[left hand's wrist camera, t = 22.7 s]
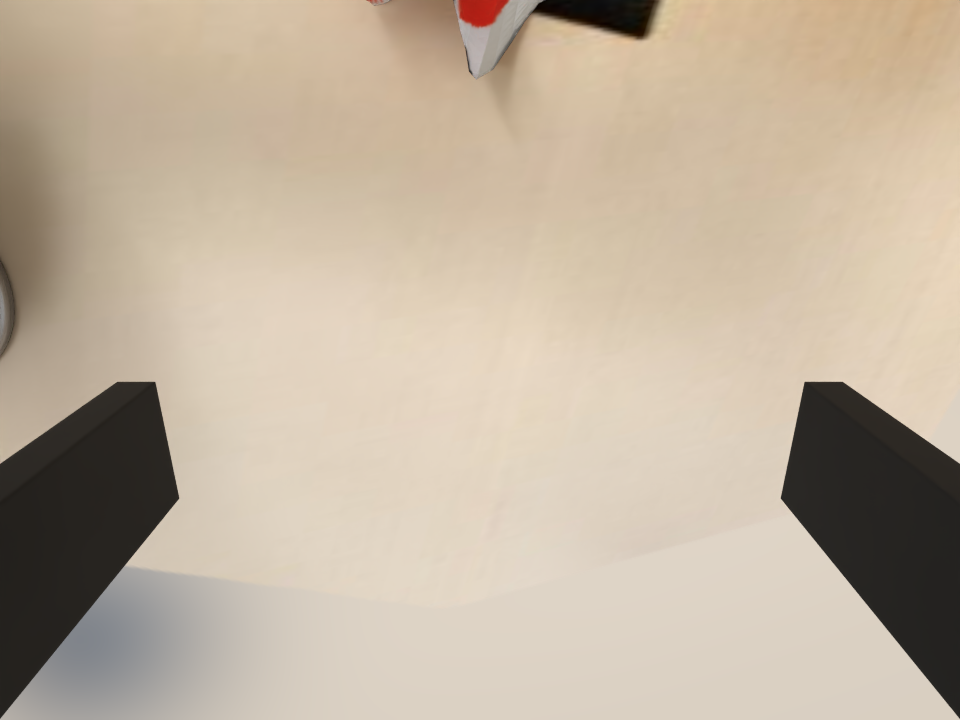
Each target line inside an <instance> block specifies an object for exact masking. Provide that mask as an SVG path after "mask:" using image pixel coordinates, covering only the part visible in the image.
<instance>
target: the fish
mask: <svg viewBox="0 0 960 720" xmlns="http://www.w3.org/2000/svg"><path fill="white" fill-rule="evenodd" d="M367 1H369V2H370V3H372V4H373V5H381V4H385V3H386V2H388V1H390V0H367ZM453 1H454V5H455V9H456V13H457V17H458V22H459V26H460V31H461V35H462V38H463V42H464V45H465V48H466V54H467V61H468V68H469V72H470V73H471V74H472V75H473V76H474V78H475V79H478V78H479V77H481V76H483V75H484V74H486V73H488V72H490V71H491V70H493V69H494V67H495V66H496V64H497V63H498V61H499V60H500V58H501V57H502V56H503V54H504V53H505V51H506V50H507V48H508V47H509V45H510V44H511V42H512V41H513V39H514V38H515V36H516V34H517V33H518V31H519V30H520V28H521V27H522V25H523V23H524V22H525V21H526V19H527V18H528V17H529V15H530V14H531V13H532V11H533V10H534V9H535V8H536V6H537V5H538V4H539V3H540V2H542V1H544V0H453Z"/></svg>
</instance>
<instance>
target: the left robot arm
mask: <svg viewBox="0 0 960 720" xmlns="http://www.w3.org/2000/svg"><path fill="white" fill-rule="evenodd" d="M13 323H14V301H13V295H12V291H11V287H10V283H9V280H8V277H7V275H6V272H5V270H4V268H3V266H2V263H1V262H0V355H1V354H2V352H3V351H4V349H5V348H6V346H7V344H8V341H9V339H10V336H11V333H12V329H13ZM178 499H179V495H178V490H177V485H176V480H175V475H174V471H173V466H172V461H171V456H170V451H169V446H168V441H167V437H166V432H165V427H164V422H163V417H162V412H161V407H160V402H159V398H158V393H157V388H156V383H155V382H117V383H115V384H114V385H112V386H111V387H109V388H108V389H107V390H105V391H104V392H102V393H101V394H99V395H98V396H97V397H95V398H94V399H92V400H91V401H89V402H88V403H87V404H85V405H84V406H82V407H81V408H79V409H78V410H77V411H75V412H74V413H72V414H71V415H69V416H68V417H67V418H65V419H64V420H62V421H61V422H59V423H58V424H57V425H55V426H54V427H52V428H51V429H49V430H48V431H47V432H45V433H44V434H42V435H41V436H39V437H38V438H36V439H35V440H34V441H32V442H31V443H29V444H28V445H26V446H25V447H24V448H22V449H21V450H19V451H18V452H16V453H15V454H14V455H12V456H11V457H9V458H8V459H6V460H5V461H4V462H2V463H1V464H0V718H1V717H2V716H3V715H4V713H5V712H6V711H7V710H8V708H9V707H10V706H11V705H12V704H13V702H14V701H15V700H16V699H17V697H18V696H19V695H20V694H21V692H22V691H23V690H24V689H25V688H26V686H27V685H28V684H29V683H30V681H31V680H32V679H33V678H34V676H35V675H36V674H37V673H38V671H39V670H40V669H41V668H42V667H43V665H44V664H45V663H46V662H47V660H48V659H49V658H50V657H51V656H52V654H53V653H54V652H55V651H56V649H57V648H58V647H59V646H60V644H61V643H62V642H63V641H64V639H65V638H66V637H67V636H68V635H69V633H70V632H71V631H72V630H73V628H74V627H75V626H76V625H77V624H78V622H79V621H80V620H81V619H82V617H83V616H84V615H85V614H86V612H87V611H88V610H89V609H90V608H91V606H92V605H93V604H94V603H95V601H96V600H97V599H98V598H99V596H100V595H101V594H102V593H103V592H104V590H105V589H106V588H107V587H108V585H109V584H110V583H111V582H112V581H113V579H114V578H115V577H116V576H117V574H118V573H119V572H120V571H121V569H122V568H123V567H124V566H125V565H126V563H127V562H128V561H129V560H130V558H131V557H132V556H133V555H134V553H135V552H136V551H137V550H138V549H139V547H140V546H141V545H142V544H143V542H144V541H145V540H146V539H147V537H148V536H149V535H150V534H151V533H152V531H153V530H154V529H155V528H156V526H157V525H158V524H159V523H160V521H161V520H162V519H163V518H164V517H165V515H166V514H167V513H168V512H169V510H170V509H171V508H172V507H173V505H174V504H175V503H176V502H177V501H178ZM781 499H782V501H783V502H784V503H785V504H786V505H787V507H788V508H789V509H790V510H791V512H792V513H793V514H794V515H795V517H796V518H797V519H798V520H799V521H800V523H801V524H802V525H803V526H804V528H805V529H806V530H807V531H808V533H809V534H810V535H811V536H812V537H813V539H814V540H815V541H816V542H817V544H818V545H819V546H820V547H821V549H822V550H823V551H824V552H825V553H826V555H827V556H828V557H829V558H830V560H831V561H832V562H833V563H834V564H835V566H836V567H837V568H838V569H839V571H840V572H841V573H842V574H843V576H844V577H845V578H846V579H847V581H848V582H849V583H850V584H851V585H852V587H853V588H854V589H855V590H856V592H857V593H858V594H859V595H860V596H861V598H862V599H863V600H864V601H865V603H866V604H867V605H868V606H869V608H870V609H871V610H872V611H873V612H874V614H875V615H876V616H877V617H878V619H879V620H880V621H881V622H882V623H883V625H884V626H885V627H886V628H887V630H888V631H889V632H890V633H891V635H892V636H893V637H894V638H895V640H896V641H897V642H898V643H899V644H900V646H901V647H902V648H903V649H904V651H905V652H906V653H907V654H908V656H909V657H910V658H911V659H912V660H913V662H914V663H915V664H916V665H917V667H918V668H919V669H920V670H921V672H922V673H923V674H924V675H925V676H926V678H927V679H928V680H929V681H930V683H931V684H932V685H933V686H934V688H935V689H936V690H937V691H938V692H939V694H940V695H941V696H942V697H943V699H944V700H945V701H946V702H947V704H948V705H949V706H950V707H951V708H952V710H953V711H954V712H955V713H956V715H957V716H958V717H959V718H960V464H959V463H958V462H956V461H955V460H954V459H952V458H951V457H949V456H948V455H946V454H945V453H944V452H942V451H941V450H939V449H938V448H936V447H935V446H934V445H932V444H931V443H929V442H928V441H926V440H925V439H924V438H922V437H921V436H919V435H918V434H916V433H915V432H913V431H912V430H911V429H909V428H908V427H906V426H905V425H903V424H902V423H901V422H899V421H898V420H896V419H895V418H893V417H892V416H891V415H889V414H888V413H886V412H885V411H883V410H882V409H881V408H879V407H878V406H876V405H875V404H873V403H872V402H871V401H869V400H868V399H866V398H865V397H863V396H862V395H861V394H859V393H858V392H856V391H855V390H853V389H852V388H851V387H849V386H848V385H846V384H845V383H843V382H805V383H804V388H803V393H802V398H801V402H800V407H799V412H798V417H797V422H796V427H795V432H794V437H793V441H792V446H791V451H790V456H789V461H788V466H787V471H786V475H785V480H784V485H783V490H782V495H781Z"/></svg>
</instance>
